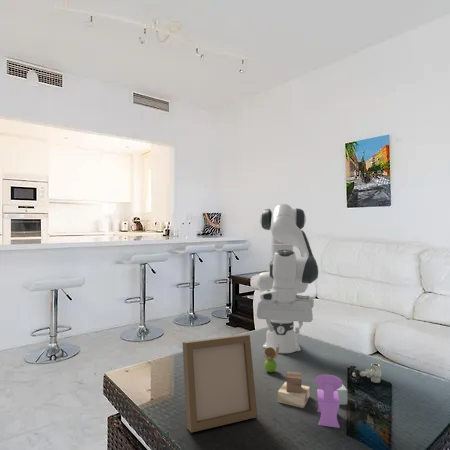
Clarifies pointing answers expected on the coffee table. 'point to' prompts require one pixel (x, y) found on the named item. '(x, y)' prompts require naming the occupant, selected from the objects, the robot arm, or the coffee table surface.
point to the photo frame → (218, 382)
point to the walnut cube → (294, 382)
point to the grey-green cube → (342, 395)
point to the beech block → (294, 396)
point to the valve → (366, 373)
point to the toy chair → (328, 399)
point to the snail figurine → (270, 359)
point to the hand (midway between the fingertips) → (284, 332)
